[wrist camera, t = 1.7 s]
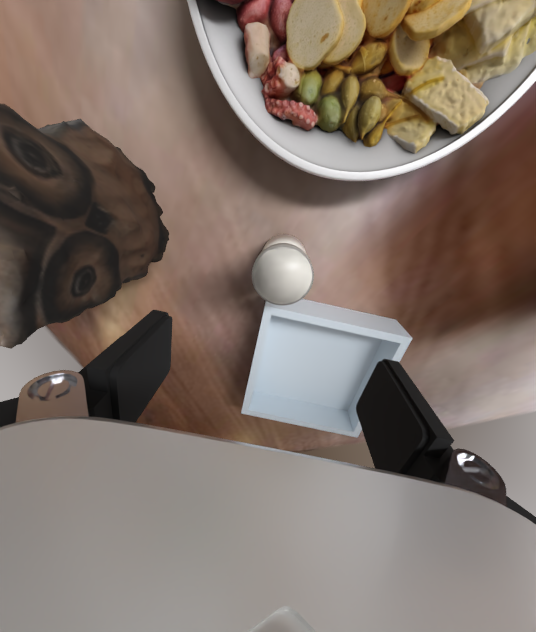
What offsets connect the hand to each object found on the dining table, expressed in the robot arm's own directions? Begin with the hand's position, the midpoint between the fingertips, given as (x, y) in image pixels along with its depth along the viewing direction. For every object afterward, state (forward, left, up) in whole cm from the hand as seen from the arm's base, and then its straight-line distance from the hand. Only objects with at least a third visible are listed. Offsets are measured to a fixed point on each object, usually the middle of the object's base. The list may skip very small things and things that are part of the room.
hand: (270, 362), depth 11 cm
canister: (0, 0, -22) cm, 22 cm away
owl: (+21, -1, -23) cm, 31 cm away
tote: (-8, +14, -22) cm, 27 cm away
